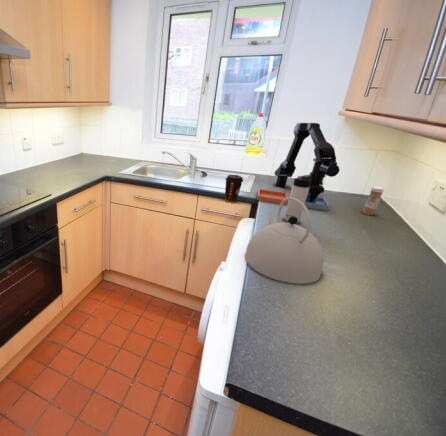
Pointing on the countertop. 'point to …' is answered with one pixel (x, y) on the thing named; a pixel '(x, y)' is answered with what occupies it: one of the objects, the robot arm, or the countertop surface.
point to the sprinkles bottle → (373, 200)
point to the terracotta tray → (272, 196)
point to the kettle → (286, 250)
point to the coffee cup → (232, 187)
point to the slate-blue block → (309, 199)
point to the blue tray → (318, 204)
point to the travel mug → (299, 193)
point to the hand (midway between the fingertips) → (310, 200)
